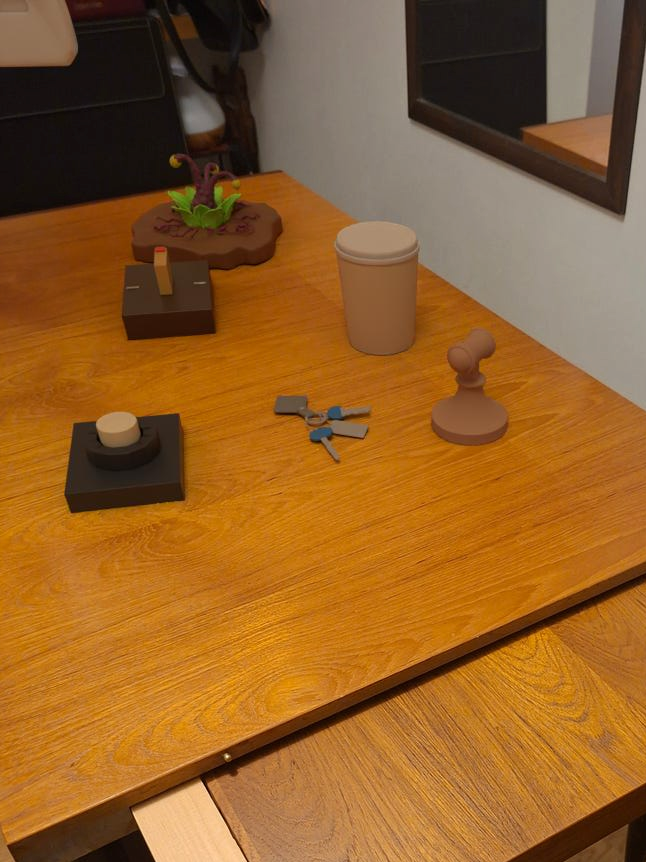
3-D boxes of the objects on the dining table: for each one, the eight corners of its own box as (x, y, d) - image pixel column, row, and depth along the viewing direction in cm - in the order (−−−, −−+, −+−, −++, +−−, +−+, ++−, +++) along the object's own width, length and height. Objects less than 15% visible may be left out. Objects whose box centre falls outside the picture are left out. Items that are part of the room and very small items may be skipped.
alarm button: (99, 450, 82) (94, 434, 81) (101, 429, 84) (96, 413, 83) (140, 446, 83) (136, 430, 82) (141, 425, 85) (137, 409, 84)
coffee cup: (434, 332, 108) (434, 230, 100) (397, 366, 102) (393, 260, 94) (367, 315, 111) (361, 214, 102) (327, 347, 105) (317, 242, 96)
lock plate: (127, 340, 104) (121, 314, 102) (131, 288, 114) (125, 263, 112) (216, 333, 106) (211, 307, 104) (212, 283, 116) (207, 258, 114)
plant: (156, 211, 132) (138, 127, 124) (289, 216, 132) (280, 132, 125) (117, 267, 118) (94, 176, 110) (266, 273, 118) (253, 182, 110)
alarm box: (71, 514, 81) (57, 477, 78) (79, 442, 89) (67, 406, 86) (184, 501, 83) (176, 464, 80) (183, 431, 91) (175, 396, 88)
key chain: (262, 405, 95) (261, 398, 94) (328, 381, 99) (327, 374, 98) (336, 465, 88) (335, 458, 87) (404, 437, 92) (403, 430, 91)
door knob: (527, 330, 88) (487, 363, 83) (521, 418, 95) (483, 453, 90) (458, 309, 91) (415, 340, 86) (456, 396, 98) (416, 430, 93)
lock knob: (172, 294, 106) (165, 262, 104) (160, 295, 106) (153, 263, 103) (172, 276, 110) (166, 245, 107) (160, 277, 109) (154, 246, 107)
